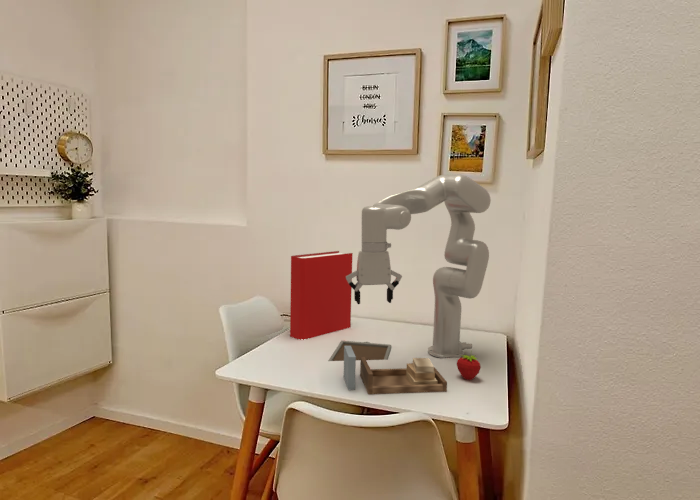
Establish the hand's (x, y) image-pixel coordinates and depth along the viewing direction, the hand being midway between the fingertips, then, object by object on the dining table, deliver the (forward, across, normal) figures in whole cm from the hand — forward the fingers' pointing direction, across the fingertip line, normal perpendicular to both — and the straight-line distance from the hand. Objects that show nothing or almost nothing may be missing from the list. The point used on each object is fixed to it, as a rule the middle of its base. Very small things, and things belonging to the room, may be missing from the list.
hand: (373, 302), depth 148 cm
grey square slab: (+24, +9, +7) cm, 26 cm away
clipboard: (+25, +1, -19) cm, 32 cm away
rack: (+24, -7, +8) cm, 26 cm away
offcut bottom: (+23, -13, +8) cm, 28 cm away
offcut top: (+19, -13, +9) cm, 25 cm away
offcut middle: (+21, -13, +8) cm, 26 cm away
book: (+25, +12, -49) cm, 57 cm away
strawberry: (+25, -28, +7) cm, 38 cm away
